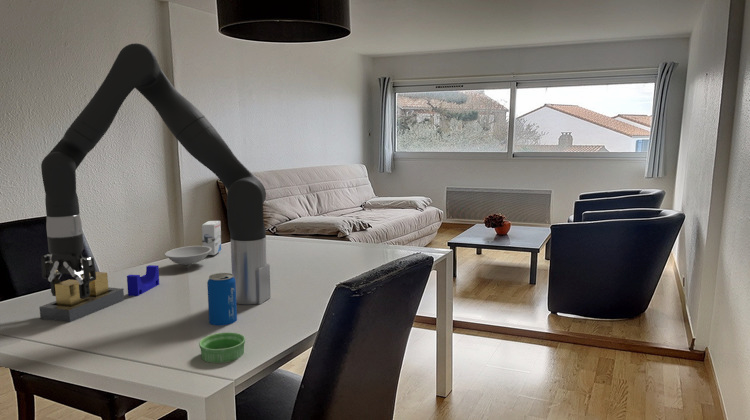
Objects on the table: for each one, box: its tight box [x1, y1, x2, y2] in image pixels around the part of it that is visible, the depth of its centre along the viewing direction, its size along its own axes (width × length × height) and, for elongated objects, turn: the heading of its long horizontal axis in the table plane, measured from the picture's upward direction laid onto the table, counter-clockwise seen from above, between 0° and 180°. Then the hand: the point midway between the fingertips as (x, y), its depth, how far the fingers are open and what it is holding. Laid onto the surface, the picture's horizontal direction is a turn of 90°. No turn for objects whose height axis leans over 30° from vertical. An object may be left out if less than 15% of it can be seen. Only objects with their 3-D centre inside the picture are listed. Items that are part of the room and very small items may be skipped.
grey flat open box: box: [39, 286, 125, 323], centre depth 137 cm, size 9×18×4 cm, turn 164°
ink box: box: [201, 220, 222, 256], centre depth 201 cm, size 9×5×12 cm, turn 179°
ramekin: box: [198, 331, 246, 364], centre depth 107 cm, size 9×9×4 cm
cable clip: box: [126, 265, 160, 297], centre depth 154 cm, size 12×4×6 cm, turn 175°
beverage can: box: [206, 272, 238, 327], centre depth 127 cm, size 6×6×12 cm
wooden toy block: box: [55, 279, 85, 307], centre depth 133 cm, size 4×4×8 cm
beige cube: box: [81, 271, 109, 297], centre depth 140 cm, size 4×4×8 cm
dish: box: [164, 245, 212, 267], centre depth 183 cm, size 18×14×5 cm
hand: (70, 296), depth 132 cm, fingers open, 8 cm apart
